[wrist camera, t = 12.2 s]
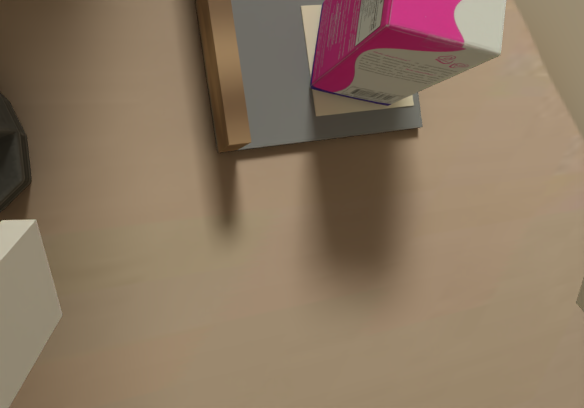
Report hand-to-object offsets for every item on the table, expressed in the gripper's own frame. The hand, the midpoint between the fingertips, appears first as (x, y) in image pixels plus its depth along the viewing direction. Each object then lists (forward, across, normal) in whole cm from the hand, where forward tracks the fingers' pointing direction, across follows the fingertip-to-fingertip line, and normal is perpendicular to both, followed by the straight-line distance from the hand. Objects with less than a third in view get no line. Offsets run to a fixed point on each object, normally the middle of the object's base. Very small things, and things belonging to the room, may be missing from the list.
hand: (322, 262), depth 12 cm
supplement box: (+24, +4, 0) cm, 24 cm away
